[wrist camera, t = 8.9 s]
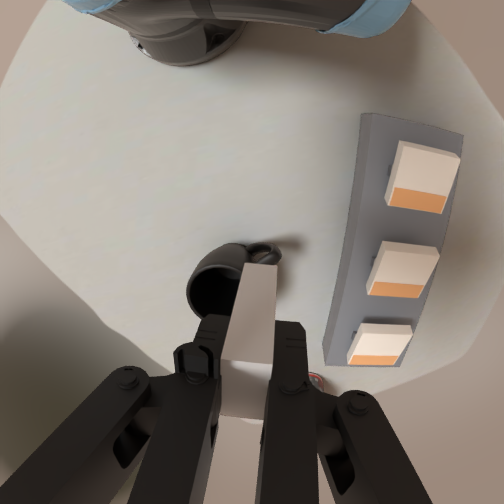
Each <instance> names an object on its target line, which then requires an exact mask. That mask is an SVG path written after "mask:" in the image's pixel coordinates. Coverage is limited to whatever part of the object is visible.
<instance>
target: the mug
mask: <svg viewBox="0 0 504 504" xmlns="http://www.w3.org/2000/svg"><path fill="white" fill-rule="evenodd" d="M261 252H269V253H268V254H267V255H265V256H264V257H262V258H261V259H259V260H258V261H256V262H255V260H254V259H253V257H252V256H254V255H256V254H258V253H261ZM281 257H282V254H281V251H280V250H279V248H278V247H277V246H276V245H274V244H271V243H253V244H251V245H249V246H247V247H246V248H245V247H244V246H242V245H240V244H236V243H228V244H225V245H223V246H221V247H219V248H217V249H215V250H213V251H212V252H210V253H209V254H208V255H206V256H205V257H204V258H203V259H202V260H201V261H200V262H199V264H198V265H197V267H196V268H195V270H194V272H193V274H192V275H191V277H190V279H189V281H188V284H187V288H186V296H187V300H188V303H189V305H190V307H191V309H192V310H193V312H194V313H195V314H196V315H197V316H198V317H199V318H200V319H204V318H205V317H206V316H207V315H208V314H214V315H222V316H231V315H232V311H233V307H234V303H235V299H236V296H237V292H238V288H239V284H240V280H241V276H242V272H243V268H244V264H245V263H253V264H264V265H275V264H276V263H278V262H279V260H280V259H281Z"/></svg>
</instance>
